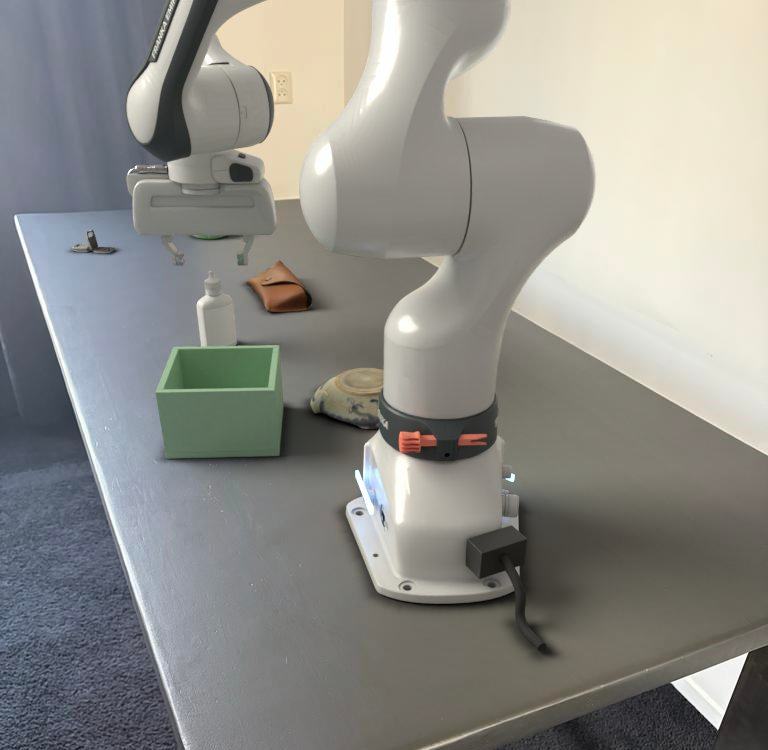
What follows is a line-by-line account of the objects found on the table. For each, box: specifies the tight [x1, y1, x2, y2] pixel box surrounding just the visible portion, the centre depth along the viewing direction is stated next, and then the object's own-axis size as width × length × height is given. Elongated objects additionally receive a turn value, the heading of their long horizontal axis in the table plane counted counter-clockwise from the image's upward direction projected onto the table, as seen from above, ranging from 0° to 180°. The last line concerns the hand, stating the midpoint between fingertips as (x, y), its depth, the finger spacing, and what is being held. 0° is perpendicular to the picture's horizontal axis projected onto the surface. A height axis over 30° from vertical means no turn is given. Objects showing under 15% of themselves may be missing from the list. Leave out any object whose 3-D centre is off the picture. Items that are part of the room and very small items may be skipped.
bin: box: [154, 344, 284, 460], centre depth 99 cm, size 14×14×9 cm
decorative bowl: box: [309, 367, 384, 430], centre depth 108 cm, size 15×4×15 cm
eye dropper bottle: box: [196, 269, 238, 346], centre depth 121 cm, size 4×6×12 cm
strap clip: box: [71, 228, 115, 254], centre depth 166 cm, size 8×3×4 cm, turn 81°
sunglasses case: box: [245, 259, 313, 313], centre depth 144 cm, size 18×7×7 cm, turn 22°
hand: (211, 264), depth 118 cm, fingers open, 8 cm apart
